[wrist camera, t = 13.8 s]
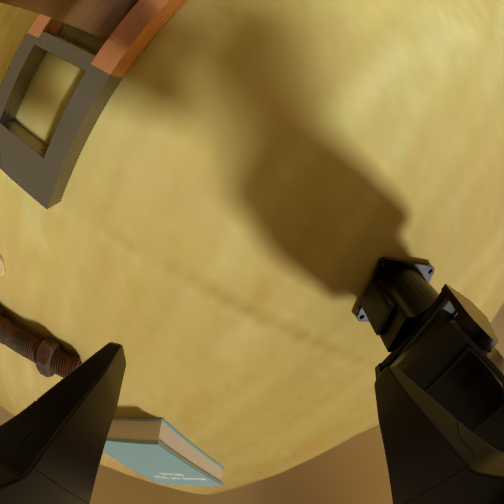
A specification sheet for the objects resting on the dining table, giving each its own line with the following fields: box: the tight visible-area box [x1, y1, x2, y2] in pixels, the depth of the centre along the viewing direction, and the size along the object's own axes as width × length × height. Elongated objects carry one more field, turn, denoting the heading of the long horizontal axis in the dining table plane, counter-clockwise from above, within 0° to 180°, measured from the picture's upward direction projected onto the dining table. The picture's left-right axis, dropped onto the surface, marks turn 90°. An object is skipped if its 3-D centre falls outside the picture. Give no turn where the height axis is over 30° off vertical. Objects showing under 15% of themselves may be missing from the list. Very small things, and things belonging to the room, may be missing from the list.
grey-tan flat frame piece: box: [0, 0, 186, 209], centre depth 12 cm, size 22×11×2 cm, turn 142°
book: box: [103, 418, 224, 486], centre depth 36 cm, size 23×16×5 cm
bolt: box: [0, 306, 82, 378], centre depth 23 cm, size 6×5×15 cm
